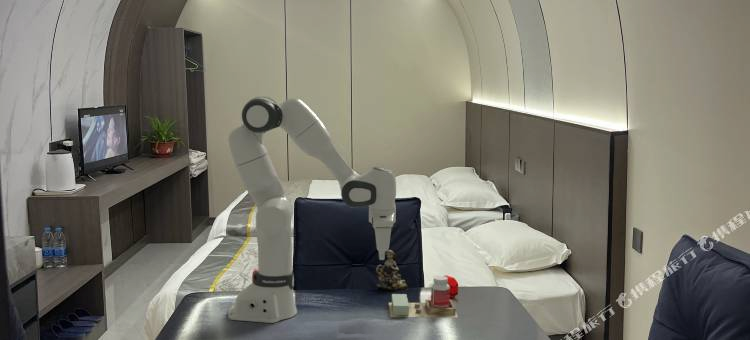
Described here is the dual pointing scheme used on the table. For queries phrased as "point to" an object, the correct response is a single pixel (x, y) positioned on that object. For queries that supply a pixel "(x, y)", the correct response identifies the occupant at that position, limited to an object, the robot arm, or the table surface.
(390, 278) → the figurine
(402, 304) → the housing cover
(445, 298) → the pill bottle
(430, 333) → the table surface
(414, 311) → the base
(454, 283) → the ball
